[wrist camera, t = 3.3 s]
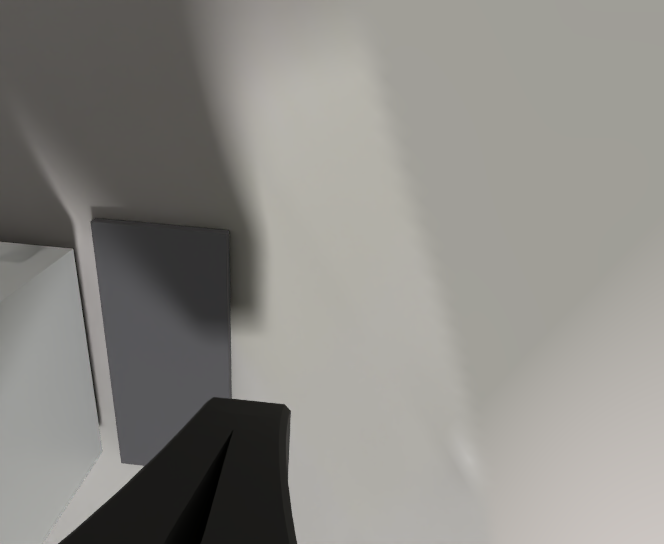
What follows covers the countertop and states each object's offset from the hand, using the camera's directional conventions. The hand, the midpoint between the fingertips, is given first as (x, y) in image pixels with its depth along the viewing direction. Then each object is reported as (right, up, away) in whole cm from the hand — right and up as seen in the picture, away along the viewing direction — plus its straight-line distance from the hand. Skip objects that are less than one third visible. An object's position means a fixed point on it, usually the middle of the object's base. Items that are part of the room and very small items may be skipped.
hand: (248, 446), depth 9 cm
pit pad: (-2, +1, +2) cm, 3 cm away
